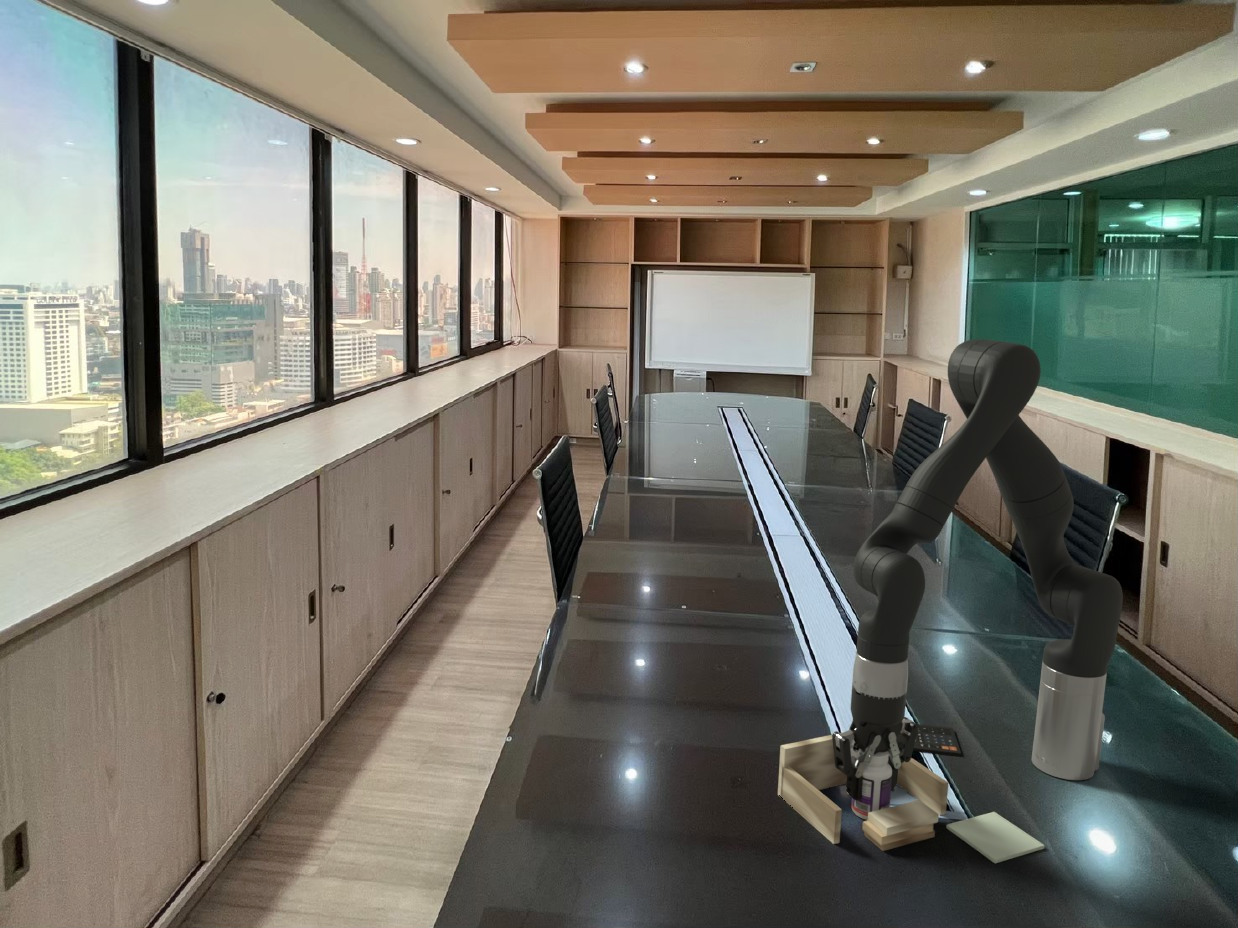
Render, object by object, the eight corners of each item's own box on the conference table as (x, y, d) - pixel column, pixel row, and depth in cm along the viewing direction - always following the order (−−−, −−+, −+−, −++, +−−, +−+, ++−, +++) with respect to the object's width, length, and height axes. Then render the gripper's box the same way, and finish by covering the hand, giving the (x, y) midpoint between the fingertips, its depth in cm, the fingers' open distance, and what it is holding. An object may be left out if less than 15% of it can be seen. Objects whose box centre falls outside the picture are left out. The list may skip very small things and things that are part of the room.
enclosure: (883, 769, 147) (887, 723, 146) (945, 814, 135) (950, 763, 133) (777, 794, 139) (780, 745, 138) (833, 844, 127) (837, 790, 125)
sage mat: (993, 814, 135) (994, 811, 135) (1044, 848, 127) (1044, 845, 127) (946, 827, 131) (946, 824, 131) (995, 863, 123) (995, 860, 123)
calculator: (960, 758, 152) (962, 741, 152) (887, 749, 154) (889, 733, 154) (952, 732, 161) (953, 716, 161) (883, 724, 164) (884, 709, 163)
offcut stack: (916, 822, 133) (918, 799, 132) (936, 837, 129) (938, 814, 129) (861, 837, 129) (863, 813, 128) (880, 853, 125) (882, 829, 125)
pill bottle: (882, 801, 138) (887, 741, 136) (894, 822, 133) (899, 759, 131) (846, 801, 138) (850, 741, 136) (856, 822, 132) (861, 759, 131)
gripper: (901, 667, 138) (892, 772, 141) (822, 681, 132) (814, 790, 135) (937, 687, 131) (927, 796, 134) (855, 703, 125) (847, 817, 128)
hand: (870, 792), depth 135 cm, fingers closed on pill bottle, 5 cm apart
